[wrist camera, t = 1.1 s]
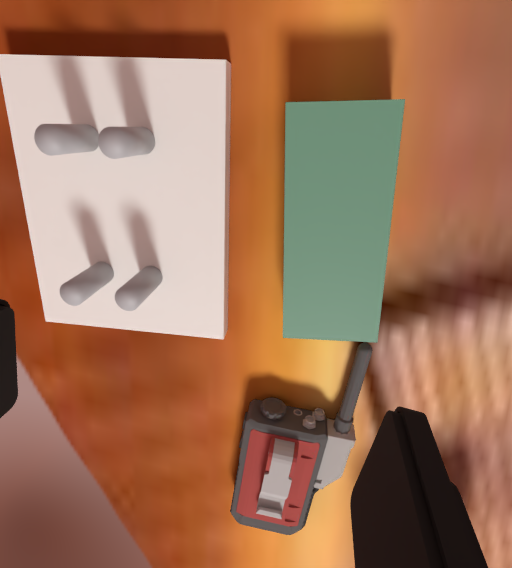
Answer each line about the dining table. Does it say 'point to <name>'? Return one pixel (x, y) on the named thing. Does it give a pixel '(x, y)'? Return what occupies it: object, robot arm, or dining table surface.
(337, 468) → the walkie-talkie
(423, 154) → the dining table surface
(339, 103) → the green boxy piece
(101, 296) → the standoff plate
